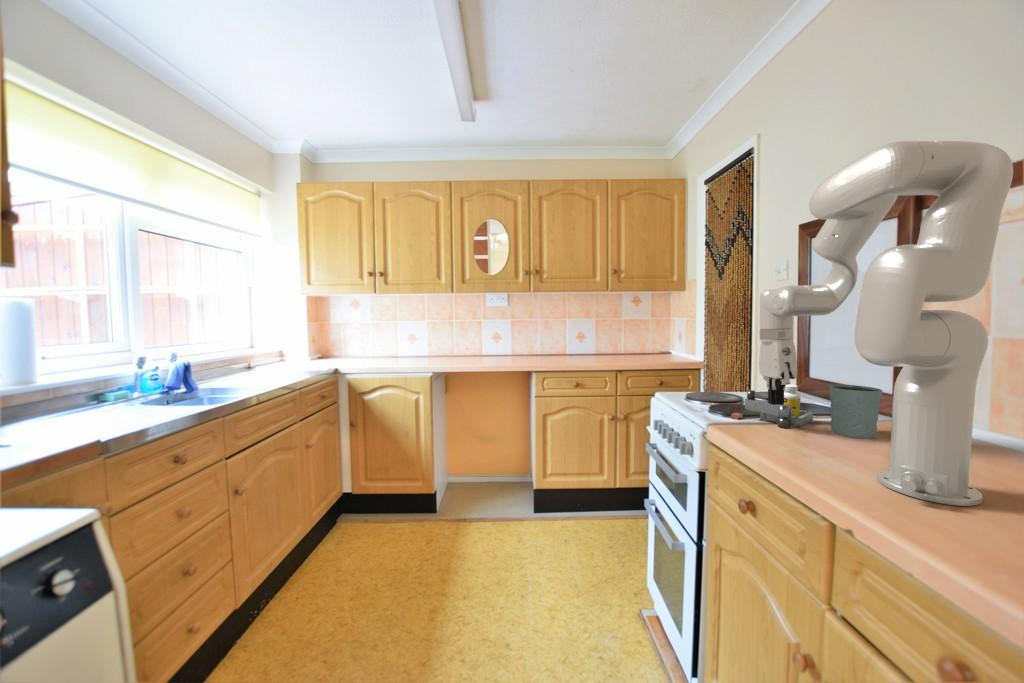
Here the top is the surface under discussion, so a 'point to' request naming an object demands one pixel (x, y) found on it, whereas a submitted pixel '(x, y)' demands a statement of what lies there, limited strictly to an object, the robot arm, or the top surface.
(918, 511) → the top surface
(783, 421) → the crank post
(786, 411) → the crank lever
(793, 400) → the supplement bottle
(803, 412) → the tray
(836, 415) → the embossed green planter pot
